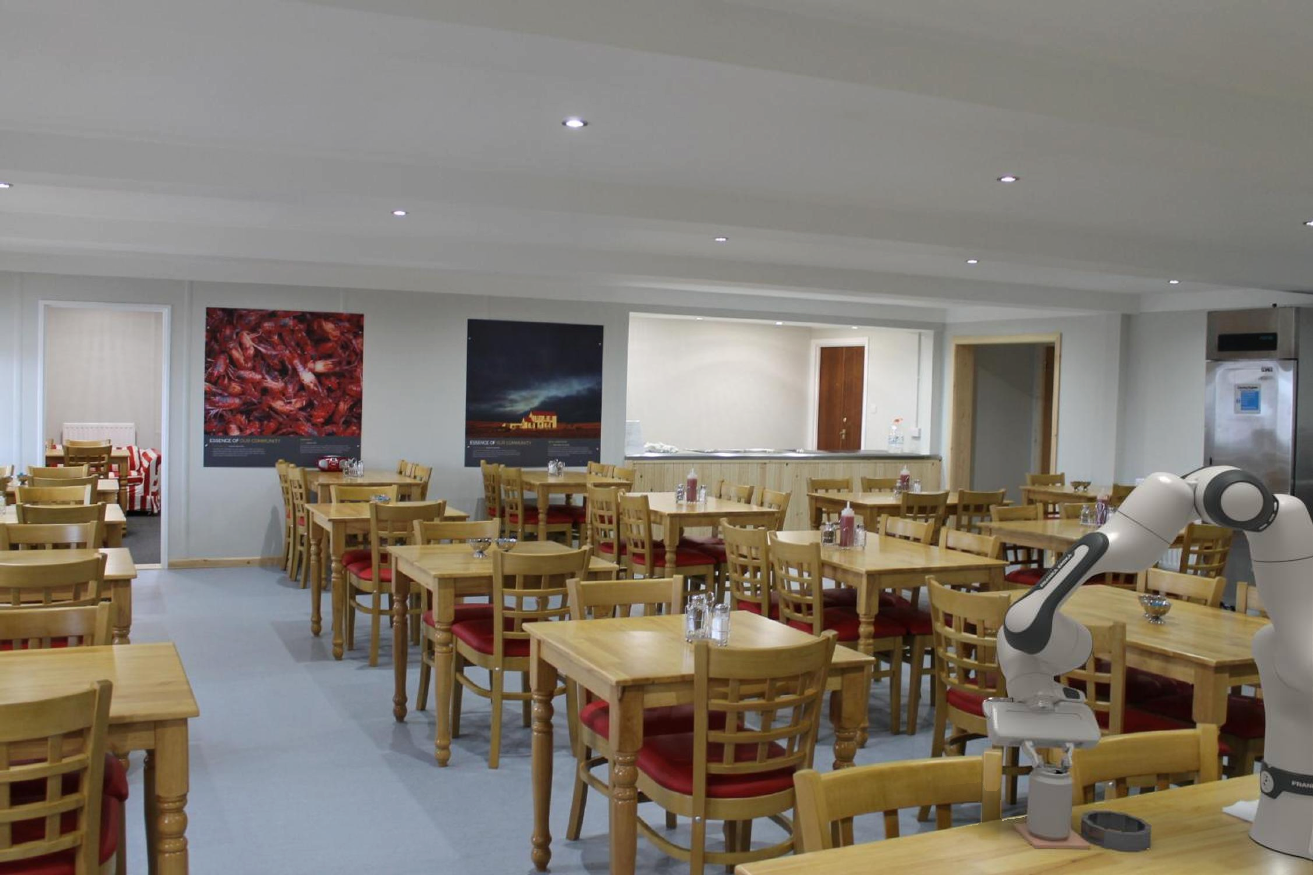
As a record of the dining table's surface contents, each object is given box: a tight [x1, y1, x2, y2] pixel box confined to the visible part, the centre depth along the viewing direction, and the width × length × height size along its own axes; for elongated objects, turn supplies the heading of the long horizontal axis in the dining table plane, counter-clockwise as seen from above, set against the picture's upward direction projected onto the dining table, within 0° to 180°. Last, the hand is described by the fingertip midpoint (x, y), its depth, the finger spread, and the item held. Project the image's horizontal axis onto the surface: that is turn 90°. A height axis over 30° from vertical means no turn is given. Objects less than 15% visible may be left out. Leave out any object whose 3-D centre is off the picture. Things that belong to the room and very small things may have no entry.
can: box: [1026, 763, 1074, 841], centre depth 202 cm, size 8×8×12 cm
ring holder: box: [1080, 810, 1152, 852], centre depth 203 cm, size 12×12×3 cm
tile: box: [1012, 822, 1092, 850], centre depth 202 cm, size 10×10×1 cm
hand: (1053, 766), depth 201 cm, fingers closed on can, 4 cm apart
